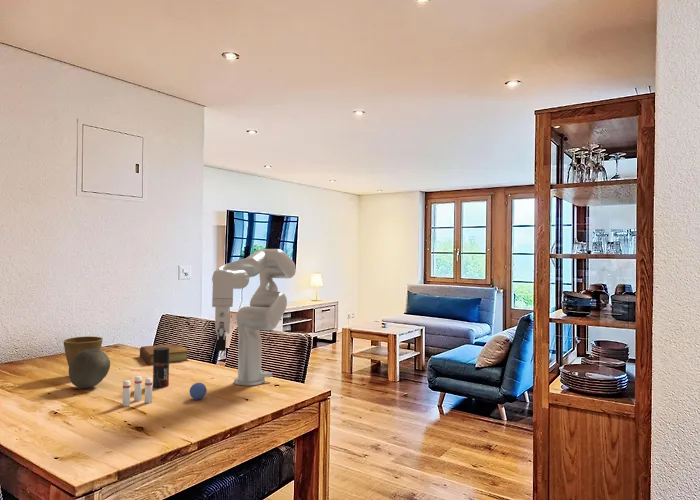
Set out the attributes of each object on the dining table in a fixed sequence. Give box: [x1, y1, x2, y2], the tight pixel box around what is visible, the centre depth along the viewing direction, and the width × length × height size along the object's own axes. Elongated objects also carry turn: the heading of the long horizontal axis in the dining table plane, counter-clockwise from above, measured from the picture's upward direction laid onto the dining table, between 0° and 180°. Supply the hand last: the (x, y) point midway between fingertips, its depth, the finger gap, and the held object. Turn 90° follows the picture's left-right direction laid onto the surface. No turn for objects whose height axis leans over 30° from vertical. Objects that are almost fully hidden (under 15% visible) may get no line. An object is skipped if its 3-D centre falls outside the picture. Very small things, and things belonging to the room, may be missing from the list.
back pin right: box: [133, 375, 143, 402], centre depth 176 cm, size 2×2×8 cm
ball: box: [189, 382, 208, 401], centre depth 178 cm, size 6×6×6 cm
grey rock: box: [68, 349, 111, 390], centre depth 192 cm, size 14×14×15 cm
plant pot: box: [63, 336, 104, 367], centre depth 209 cm, size 15×15×16 cm
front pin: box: [144, 377, 153, 404], centre depth 174 cm, size 2×2×8 cm
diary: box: [139, 343, 190, 366], centre depth 246 cm, size 23×19×6 cm
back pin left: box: [121, 379, 131, 408], centre depth 170 cm, size 2×2×8 cm
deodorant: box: [152, 347, 170, 389], centre depth 196 cm, size 6×6×15 cm
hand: (221, 348), depth 182 cm, fingers open, 9 cm apart
